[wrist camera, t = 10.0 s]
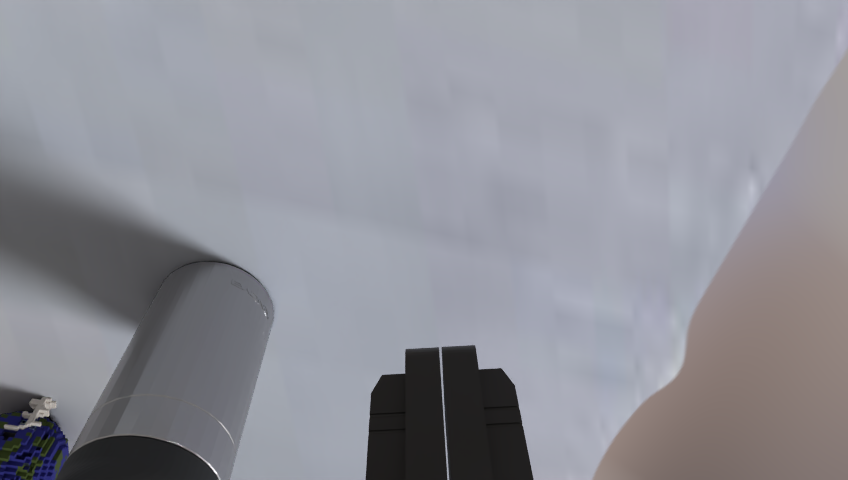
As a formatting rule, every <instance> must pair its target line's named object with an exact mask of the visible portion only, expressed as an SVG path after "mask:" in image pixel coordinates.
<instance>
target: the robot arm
mask: <svg viewBox="0 0 848 480" xmlns="http://www.w3.org/2000/svg"><path fill="white" fill-rule="evenodd" d="M273 319H274V309H273V304H272V300H271V298H270V296H269V294H268V292H267V291H266V290H265V288H264V287H263V286H262V285H261V283H260V282H258V281H257V280H256V279H255V278H254V277H253V276H251V275H250V274H248V273H246V272H245V271H243V270H241V269H239V268H236V267H233V266H231V265H228V264H223V263H218V262H199V263H192V264H189V265H186V266H183V267H180V268H179V269H177V270H176V271H174V272H172V273H171V274H170V275H169V276H168V277H167V278H166V279H165V280H164V282H163V284H162V286H161V287H160V289H159V291H158V293H157V295H156V296H155V298H154V300H153V302H152V304H151V305H150V307H149V309H148V311H147V313H146V314H145V316H144V318H143V320H142V321H141V323H140V325H139V327H138V329H137V331H136V332H135V334H134V336H133V338H132V340H131V342H130V343H129V345H128V347H127V349H126V351H125V353H124V354H123V356H122V358H121V360H120V362H119V364H118V365H117V367H116V369H115V371H114V373H113V374H112V376H111V378H110V380H109V382H108V384H107V385H106V387H105V389H104V391H103V393H102V395H101V396H100V398H99V400H98V402H97V404H96V406H95V407H94V409H93V411H92V413H91V415H90V417H89V418H88V420H87V423H86V424H85V426H84V428H83V430H82V432H81V434H80V435H79V437H78V439H77V441H76V443H75V445H74V446H73V448H72V450H71V452H70V454H69V456H68V457H67V459H66V461H65V463H64V465H63V467H62V468H61V470H60V472H59V474H58V476H57V478H56V480H230V477H231V473H232V470H233V466H234V462H235V458H236V454H237V451H238V447H239V443H240V440H241V436H242V432H243V429H244V425H245V421H246V418H247V414H248V411H249V407H250V403H251V400H252V396H253V392H254V389H255V385H256V381H257V378H258V374H259V371H260V367H261V363H262V360H263V356H264V353H265V349H266V345H267V342H268V338H269V334H270V331H271V327H272V323H273ZM442 364H443V385H444V405H445V422H446V437H447V452H448V467H449V480H533V475H532V470H531V465H530V460H529V455H528V450H527V445H526V440H525V435H524V430H523V426H522V420H521V415H520V410H519V404H518V399H517V394H516V389H515V385H514V384H513V383H512V381H511V380H510V379H509V377H508V376H507V375H506V374H505V372H504V371H503V370H502V369H501V368H499V369H481V370H479V369H478V361H477V354H476V348H475V345H471V346H452V347H442ZM366 480H447V467H446V452H445V436H444V420H443V405H442V389H441V374H440V358H439V347H437V348H419V349H406V352H405V374H392V375H382V376H381V378H380V379H379V381H378V383H377V385H376V386H375V388H374V390H373V391H372V393H371V404H370V420H369V436H368V452H367V468H366Z"/></svg>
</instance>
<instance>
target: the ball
mask: <svg viewBox="0 0 848 480" xmlns="http://www.w3.org/2000/svg"><path fill="white" fill-rule="evenodd" d="M29 406H31V408H32V409H35V410H34V411H33V413H31V412H28V411H18V412H13V413H7V414H2V415H0V480H56V478H57V476H58V474H59V472H60V470H61V468H62V467H63V465H64V463H65V461H66V459H67V457H68V456H69V451H68V439H66V438H65V435H63V431H60V427H58V425H56V423H54V422H51V421H49V418H47V417H49V415H50V414H49V410H50V409H51V408H54V409H56V401H52V398H48V397H42V399H41V400H39V399H31V401H30V402H29ZM44 416H47V417H44Z"/></svg>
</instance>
